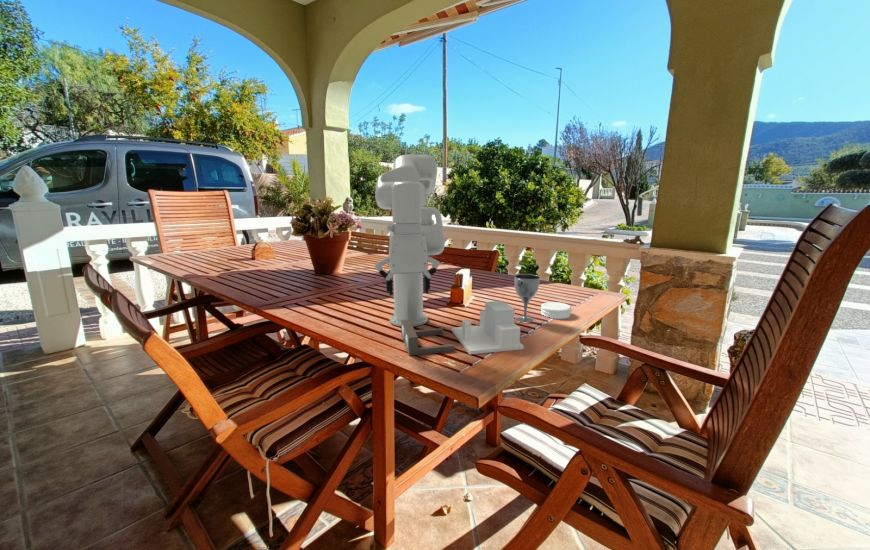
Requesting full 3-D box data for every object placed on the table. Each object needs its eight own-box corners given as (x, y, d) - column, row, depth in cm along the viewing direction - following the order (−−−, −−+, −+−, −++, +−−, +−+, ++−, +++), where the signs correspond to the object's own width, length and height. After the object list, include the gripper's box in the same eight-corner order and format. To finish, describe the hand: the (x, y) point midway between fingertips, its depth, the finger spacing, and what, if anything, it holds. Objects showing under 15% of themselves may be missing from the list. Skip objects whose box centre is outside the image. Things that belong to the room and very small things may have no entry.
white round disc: (570, 321, 128) (571, 311, 127) (539, 318, 131) (540, 308, 130) (570, 312, 137) (571, 302, 136) (541, 309, 140) (542, 300, 139)
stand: (498, 326, 122) (499, 296, 120) (523, 349, 105) (525, 314, 103) (451, 330, 118) (451, 299, 116) (469, 354, 101) (470, 318, 99)
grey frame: (442, 332, 117) (442, 317, 116) (454, 351, 104) (454, 333, 102) (401, 336, 114) (401, 320, 113) (408, 355, 101) (408, 337, 100)
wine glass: (529, 325, 123) (532, 280, 119) (508, 320, 128) (510, 276, 124) (541, 319, 128) (544, 276, 125) (520, 314, 134) (522, 272, 130)
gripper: (375, 231, 95) (377, 298, 99) (442, 230, 99) (442, 294, 102) (373, 229, 102) (375, 291, 106) (436, 228, 106) (436, 288, 109)
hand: (408, 292), depth 104 cm, fingers open, 9 cm apart
